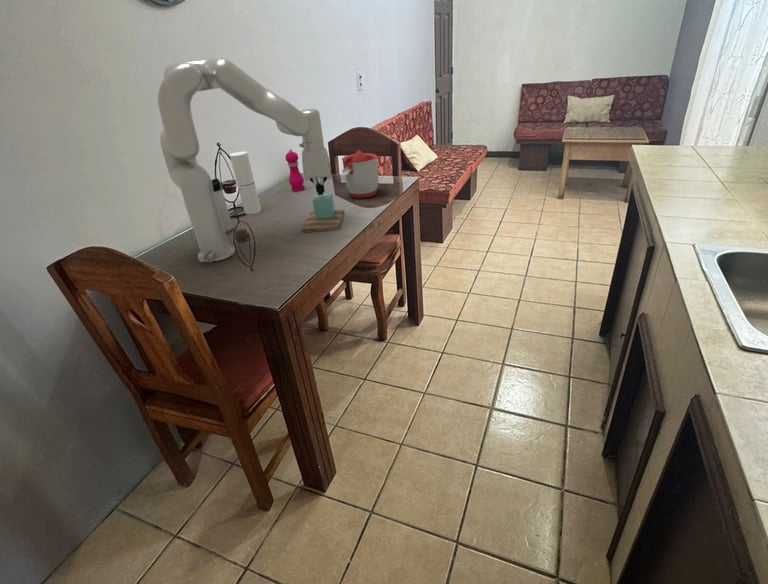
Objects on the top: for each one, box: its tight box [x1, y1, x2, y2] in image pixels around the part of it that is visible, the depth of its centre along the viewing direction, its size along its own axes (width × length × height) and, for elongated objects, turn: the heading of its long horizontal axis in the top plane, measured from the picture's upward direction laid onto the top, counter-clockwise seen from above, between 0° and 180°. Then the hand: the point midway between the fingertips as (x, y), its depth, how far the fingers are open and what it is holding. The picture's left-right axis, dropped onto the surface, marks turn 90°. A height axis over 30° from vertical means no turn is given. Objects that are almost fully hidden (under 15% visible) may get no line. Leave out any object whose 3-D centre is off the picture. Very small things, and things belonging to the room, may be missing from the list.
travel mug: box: [211, 178, 234, 234], centre depth 163 cm, size 6×7×20 cm
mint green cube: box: [312, 193, 336, 219], centre depth 167 cm, size 7×7×8 cm
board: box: [302, 209, 345, 233], centre depth 166 cm, size 18×14×2 cm
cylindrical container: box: [229, 151, 262, 215], centre depth 179 cm, size 7×7×25 cm
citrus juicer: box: [341, 149, 379, 199], centre depth 187 cm, size 16×17×20 cm
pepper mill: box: [285, 148, 305, 193], centre depth 203 cm, size 7×7×20 cm
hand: (320, 194), depth 164 cm, fingers closed
